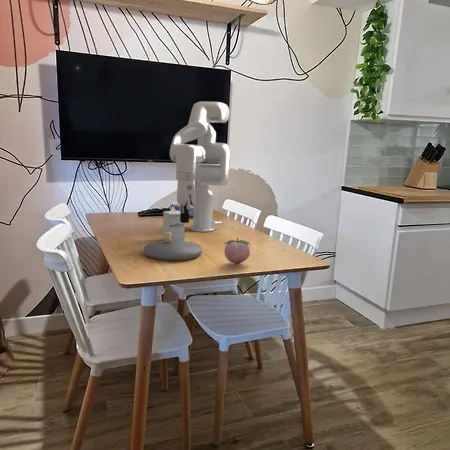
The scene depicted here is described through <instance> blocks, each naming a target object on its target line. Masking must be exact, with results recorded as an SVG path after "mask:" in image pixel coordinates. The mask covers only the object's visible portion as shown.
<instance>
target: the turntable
mask: <svg viewBox="0 0 450 450" xmlns="http://www.w3.org/2000/svg"><path fill="white" fill-rule="evenodd" d="M202 250H203V247H202V246H201V245H200V244H197V243H195V242H192V241H187V240H186V241H185V240H184V241H171V232H164V239H163V240H160V241H159V240H158V241H154V242H150V243H147V244H145V245H144V246H143V254H144V255H146V257H147V256H148V257H150V258H154V259H158V260H166V261H167V260H169V261H170V260H172V261H173V260H174V261H175V260H176V261H177V260H187V259H192V258H193V259H194V258H196V257H199V256H200V255H202V252H203V251H202Z"/></svg>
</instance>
